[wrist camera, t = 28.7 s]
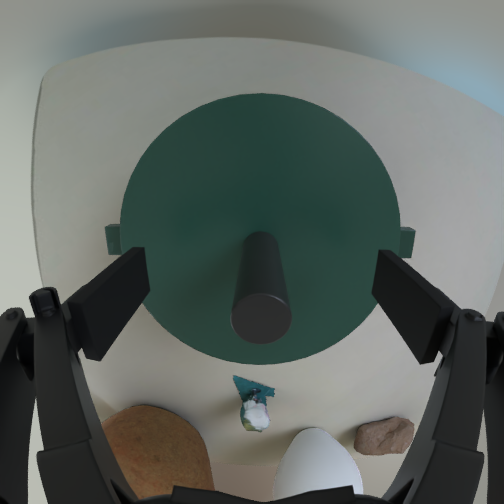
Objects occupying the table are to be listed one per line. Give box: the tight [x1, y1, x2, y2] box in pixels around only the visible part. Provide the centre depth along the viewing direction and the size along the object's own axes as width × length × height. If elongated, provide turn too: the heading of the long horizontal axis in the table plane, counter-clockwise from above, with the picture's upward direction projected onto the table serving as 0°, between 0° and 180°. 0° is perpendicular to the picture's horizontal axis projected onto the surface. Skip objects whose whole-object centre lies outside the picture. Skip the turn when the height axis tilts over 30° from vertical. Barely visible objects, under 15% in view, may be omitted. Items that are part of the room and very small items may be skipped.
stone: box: [354, 417, 414, 455], centre depth 40 cm, size 12×9×10 cm
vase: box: [273, 428, 363, 500], centre depth 30 cm, size 14×14×28 cm
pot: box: [101, 405, 215, 500], centre depth 29 cm, size 24×24×30 cm
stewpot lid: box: [120, 93, 401, 365], centre depth 15 cm, size 21×21×10 cm
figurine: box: [233, 375, 275, 432], centre depth 36 cm, size 12×9×8 cm
